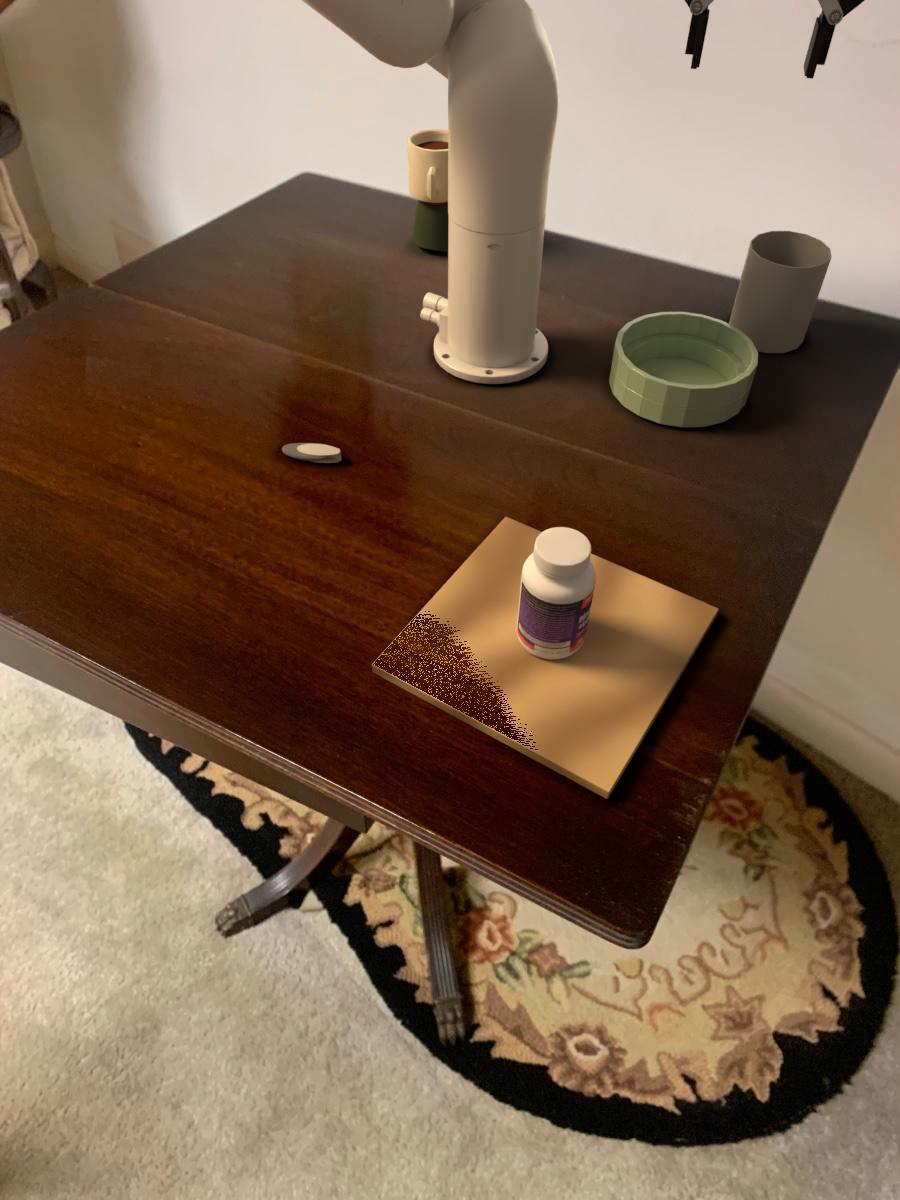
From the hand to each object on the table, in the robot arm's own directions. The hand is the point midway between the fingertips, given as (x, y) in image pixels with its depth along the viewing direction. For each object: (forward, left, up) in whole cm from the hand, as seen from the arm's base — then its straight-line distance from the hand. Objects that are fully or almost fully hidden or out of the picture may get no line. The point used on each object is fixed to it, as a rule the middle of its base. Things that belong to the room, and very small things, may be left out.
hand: (751, 68), depth 77 cm
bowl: (+2, -7, -28) cm, 29 cm away
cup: (+6, +9, -28) cm, 30 cm away
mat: (+7, -45, -28) cm, 54 cm away
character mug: (-37, +6, -28) cm, 47 cm away
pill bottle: (+7, -45, -28) cm, 53 cm away
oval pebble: (-23, -37, -28) cm, 52 cm away
